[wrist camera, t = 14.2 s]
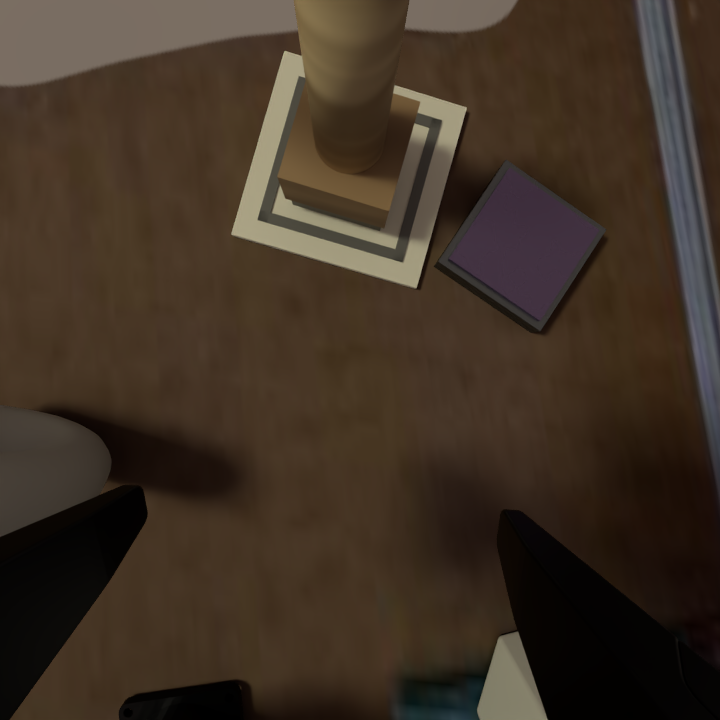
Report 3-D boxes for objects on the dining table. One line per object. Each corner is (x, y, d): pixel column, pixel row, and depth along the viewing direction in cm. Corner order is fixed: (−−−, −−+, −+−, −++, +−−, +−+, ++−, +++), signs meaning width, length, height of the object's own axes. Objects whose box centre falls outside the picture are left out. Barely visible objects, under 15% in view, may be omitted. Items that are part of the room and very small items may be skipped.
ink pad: (530, 332, 21) (542, 330, 19) (433, 266, 20) (439, 260, 19) (593, 235, 21) (609, 228, 20) (498, 169, 21) (507, 157, 19)
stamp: (382, 235, 20) (471, -82, 6) (288, 207, 20) (138, -195, 6) (408, 143, 20) (561, -395, 6) (315, 114, 20) (237, -517, 6)
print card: (415, 289, 20) (416, 287, 20) (233, 236, 20) (230, 233, 20) (465, 111, 21) (467, 106, 20) (285, 55, 20) (284, 49, 20)
